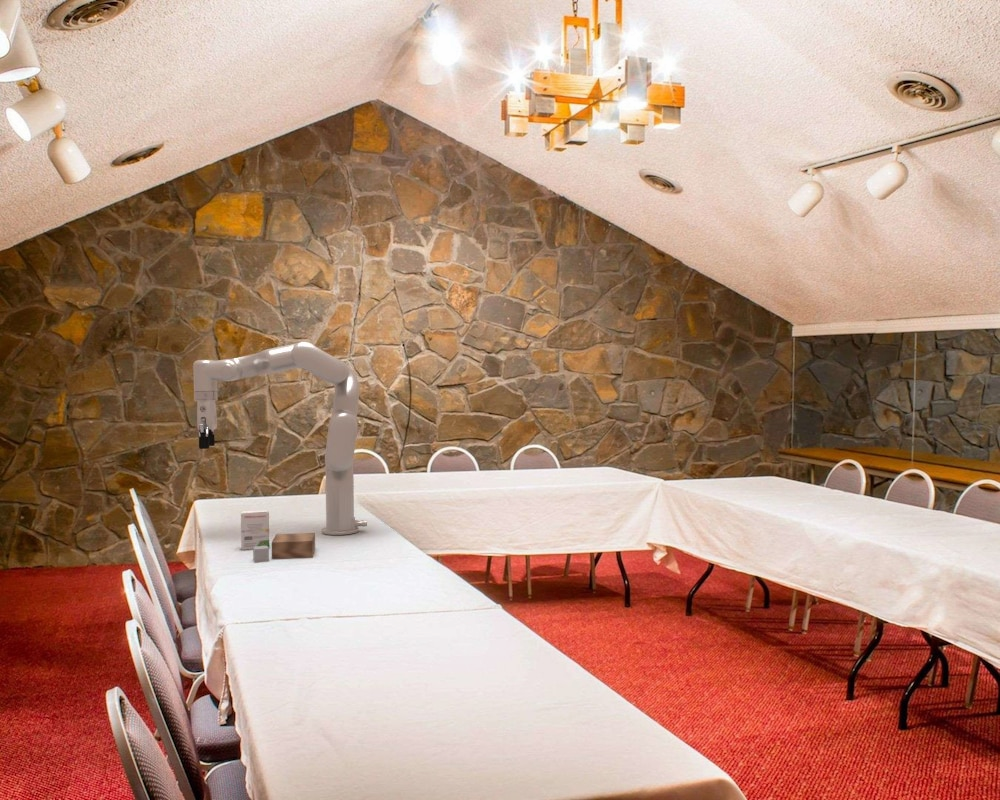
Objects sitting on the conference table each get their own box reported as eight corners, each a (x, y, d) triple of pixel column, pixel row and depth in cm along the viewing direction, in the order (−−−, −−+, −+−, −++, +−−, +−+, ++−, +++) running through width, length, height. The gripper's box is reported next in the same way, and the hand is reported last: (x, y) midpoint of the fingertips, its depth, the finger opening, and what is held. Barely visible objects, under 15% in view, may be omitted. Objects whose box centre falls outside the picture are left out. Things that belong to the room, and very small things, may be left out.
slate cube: (266, 558, 276) (266, 545, 276) (269, 561, 273) (268, 548, 272) (253, 560, 275) (253, 546, 274) (255, 562, 271) (254, 549, 271)
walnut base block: (315, 548, 290) (314, 532, 290) (312, 557, 277) (312, 541, 277) (276, 549, 288) (276, 534, 288) (271, 558, 276) (271, 542, 275)
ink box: (268, 545, 296) (267, 509, 295) (269, 548, 291) (269, 511, 290) (241, 547, 293) (240, 510, 292) (241, 550, 288) (241, 513, 288)
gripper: (212, 397, 299) (213, 449, 300) (221, 395, 317) (222, 444, 317) (188, 397, 298) (190, 450, 299) (199, 395, 316) (200, 445, 316)
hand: (206, 447), depth 308 cm, fingers open, 9 cm apart
